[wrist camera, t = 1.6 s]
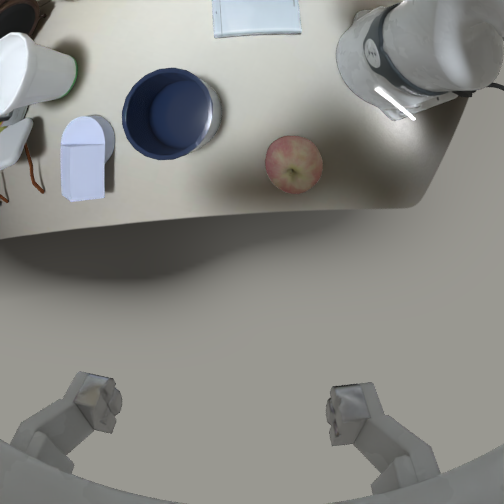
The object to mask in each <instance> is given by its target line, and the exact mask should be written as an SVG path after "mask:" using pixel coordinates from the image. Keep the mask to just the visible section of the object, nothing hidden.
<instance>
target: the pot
mask: <svg viewBox="0 0 504 504" xmlns="http://www.w3.org/2000/svg"><path fill="white" fill-rule="evenodd" d="M221 120H222V105H221V101H220V99H219V96H218V95H217V93H216V92H215V90H214V89H213V88H212V87H211V86H210V85H209V84H207V83H206V82H204V81H203V80H201V79H200V78H198V77H197V76H195V75H194V74H192V73H190V72H189V71H187V70H182V69H177V68H166V69H159V70H156V71H154V72H152V73H149V74H147V75H145V76H144V77H143V78H142V79H140V80H139V81H138V82H137V83H136V84H135V85H134V86H133V87H132V89H131V91H130V92H129V94H128V95H127V97H126V99H125V103H124V106H123V110H122V125H123V129H124V131H125V134H126V137H127V139H128V140H129V142H130V143H131V144H132V146H133V147H134V148H135V149H136V150H137V151H139V152H140V153H142V154H143V155H144V156H146V157H150V158H153V159H157V160H172V159H176V158H179V157H181V156H184V155H187V154H189V153H191V152H193V151H195V150H197V149H199V148H201V147H203V146H204V145H205V144H207V143H208V142H209V141H210V140H211V139H212V138H213V137H214V136H215V134H216V133H217V131H218V129H219V127H220V124H221Z"/></svg>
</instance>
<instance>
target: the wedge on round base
mask: <svg viewBox="0 0 504 504" xmlns="http://www.w3.org/2000/svg"><path fill="white" fill-rule="evenodd" d="M114 145H115V136H114V131H113V128H112V126H111V125H110V123H109V122H108V121H107V120H106V119H104V118H102V117H100V116H82V117H78V118H76V119H74V120H72V121H71V122H70V123H69V124H68V125H67V127H66V128H65V130H64V132H63V135H62V139H61V187H62V195H63V196H64V197H66V198H67V199H68V200H69V201H71V202H75V201H82V200H90V199H98V198H105V195H104V164H105V163H106V162H107V161H108V159H109V158H110V157H111V155H112V153H113V150H114Z"/></svg>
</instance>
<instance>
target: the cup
mask: <svg viewBox="0 0 504 504" xmlns="http://www.w3.org/2000/svg"><path fill="white" fill-rule="evenodd" d="M77 73H78V67H77V63H76V60H75V59H74V58H73V57H72V56H70V55H66V54H63V53H60V52H58V51H55V50H53V49H50V48H47V47H45V46H42V45H40V44H37V43H34V40H32V39H31V38H30V37H29V36H28V35H27V34H24V33H20V32H11V33H9V34H7V35H6V36H4V37H2V38H1V39H0V116H2V115H5V114H7V113H9V112H11V111H12V110H13V109H15V108H19V107H23V106H27V105H31V104H35V103H40V102H45V101H49V100H55V99H59V98H62V97H63V96H65V95H66V94H67V93H69V91H70V90H71V89H72V87H73V85H74V83H75V81H76V78H77Z"/></svg>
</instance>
